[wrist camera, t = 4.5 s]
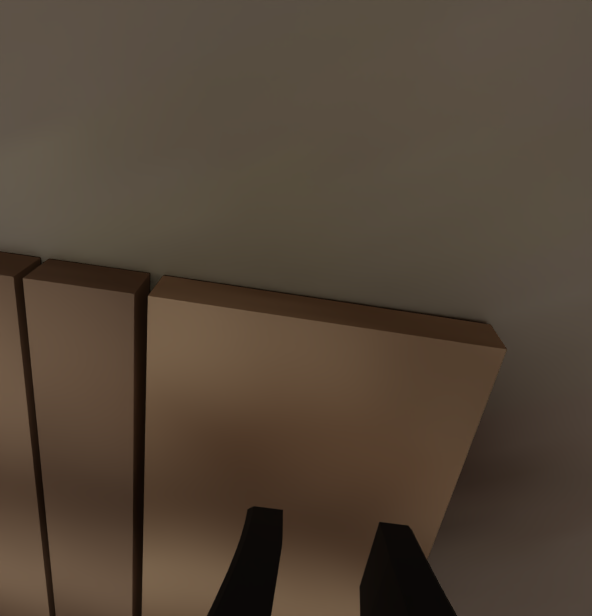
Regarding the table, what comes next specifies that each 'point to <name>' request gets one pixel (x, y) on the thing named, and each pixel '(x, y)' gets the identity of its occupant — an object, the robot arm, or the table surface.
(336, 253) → the table surface
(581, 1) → the table surface
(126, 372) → the laid row
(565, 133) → the table surface
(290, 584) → the board
